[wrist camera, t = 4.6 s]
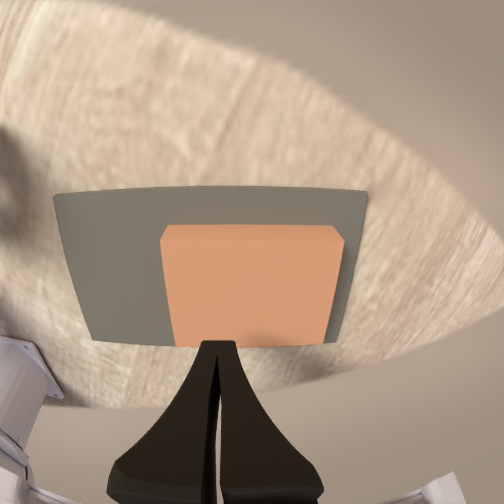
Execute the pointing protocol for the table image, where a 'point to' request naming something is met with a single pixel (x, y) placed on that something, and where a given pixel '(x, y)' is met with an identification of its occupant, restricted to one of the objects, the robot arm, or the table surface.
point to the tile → (250, 282)
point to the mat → (149, 251)
